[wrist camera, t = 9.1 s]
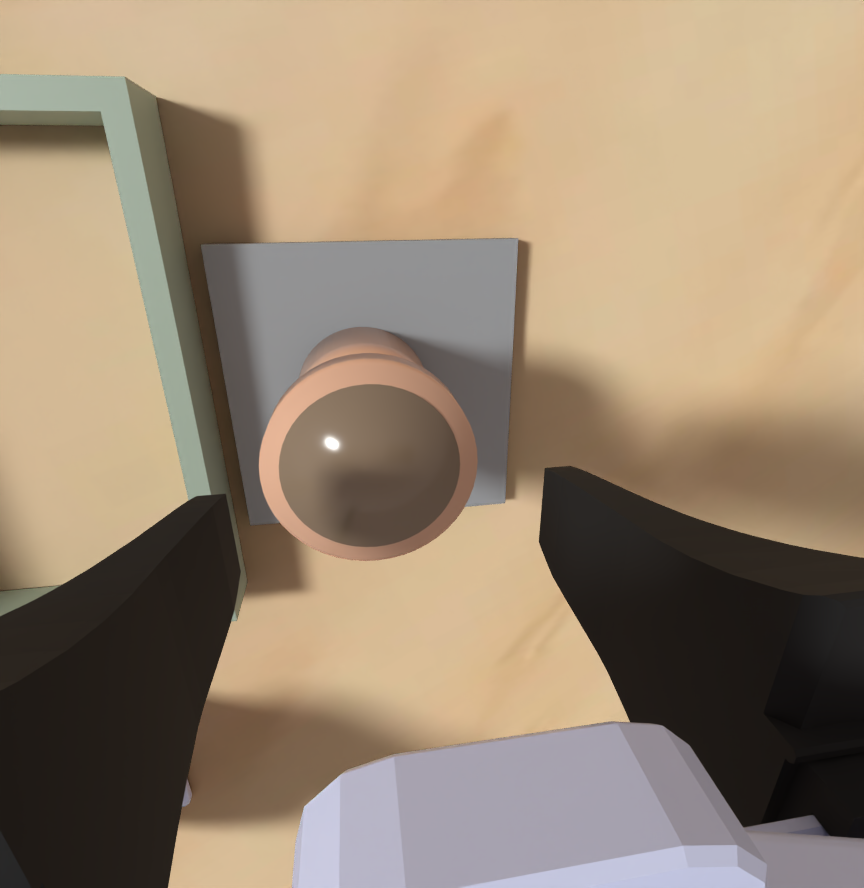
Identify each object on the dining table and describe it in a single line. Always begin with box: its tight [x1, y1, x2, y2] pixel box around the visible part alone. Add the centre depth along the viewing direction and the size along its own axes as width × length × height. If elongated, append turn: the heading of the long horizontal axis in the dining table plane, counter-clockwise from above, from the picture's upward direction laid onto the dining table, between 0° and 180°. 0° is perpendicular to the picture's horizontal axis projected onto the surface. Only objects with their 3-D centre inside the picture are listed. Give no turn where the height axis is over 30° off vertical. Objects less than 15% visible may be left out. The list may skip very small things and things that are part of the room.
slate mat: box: [201, 238, 518, 525], centre depth 21 cm, size 11×11×1 cm
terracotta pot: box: [259, 327, 478, 561], centre depth 17 cm, size 6×6×7 cm
